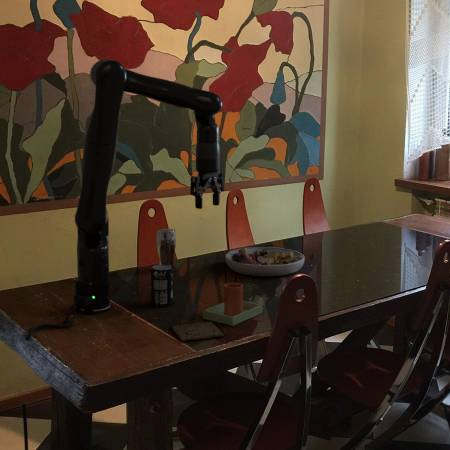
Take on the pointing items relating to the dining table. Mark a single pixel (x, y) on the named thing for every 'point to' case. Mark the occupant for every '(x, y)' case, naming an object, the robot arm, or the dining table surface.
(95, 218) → the robot arm
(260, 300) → the dining table surface
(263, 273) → the bowl
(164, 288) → the beverage can
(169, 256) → the beer glass
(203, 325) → the speckled square tile
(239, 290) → the cup
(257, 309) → the tray
